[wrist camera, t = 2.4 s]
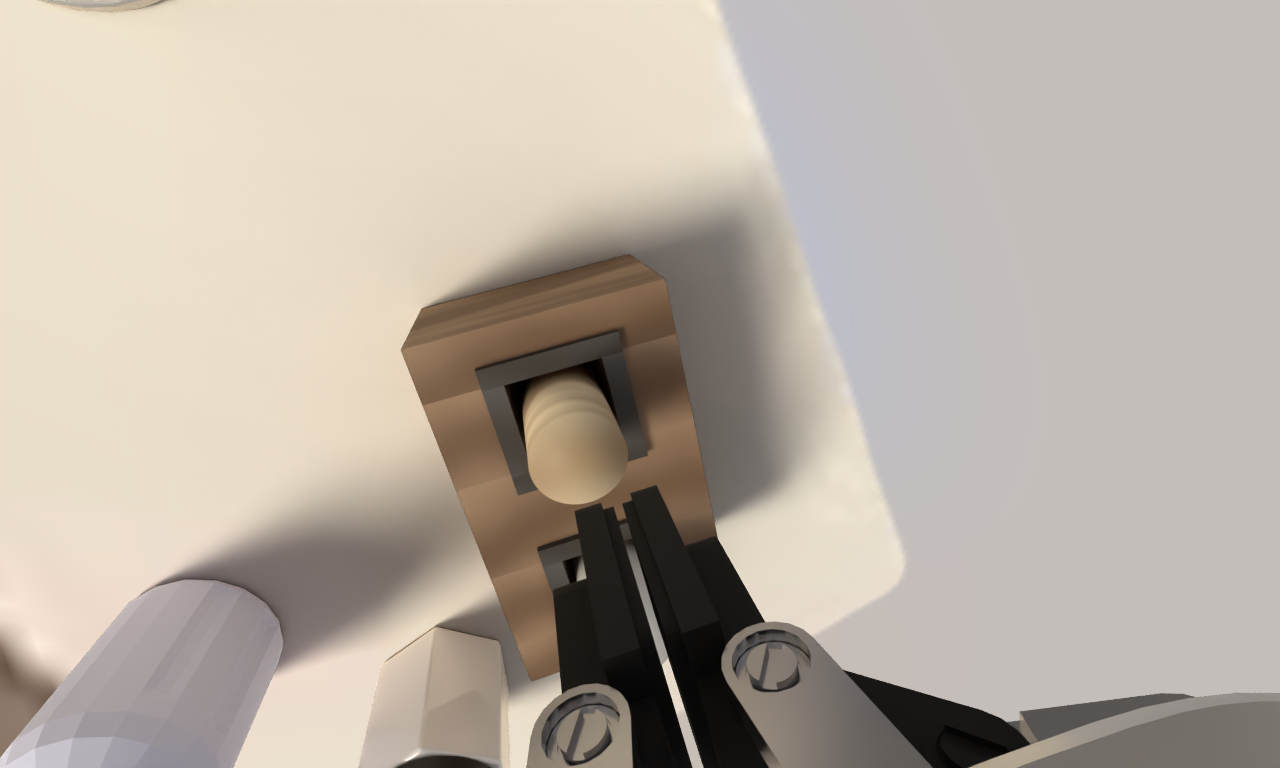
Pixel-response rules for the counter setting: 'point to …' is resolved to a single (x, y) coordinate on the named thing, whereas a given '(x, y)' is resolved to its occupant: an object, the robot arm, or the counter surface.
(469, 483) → the walnut block
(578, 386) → the oak peg
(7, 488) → the counter surface
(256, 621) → the soap bottle
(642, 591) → the white peg
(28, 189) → the counter surface
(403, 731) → the jar
